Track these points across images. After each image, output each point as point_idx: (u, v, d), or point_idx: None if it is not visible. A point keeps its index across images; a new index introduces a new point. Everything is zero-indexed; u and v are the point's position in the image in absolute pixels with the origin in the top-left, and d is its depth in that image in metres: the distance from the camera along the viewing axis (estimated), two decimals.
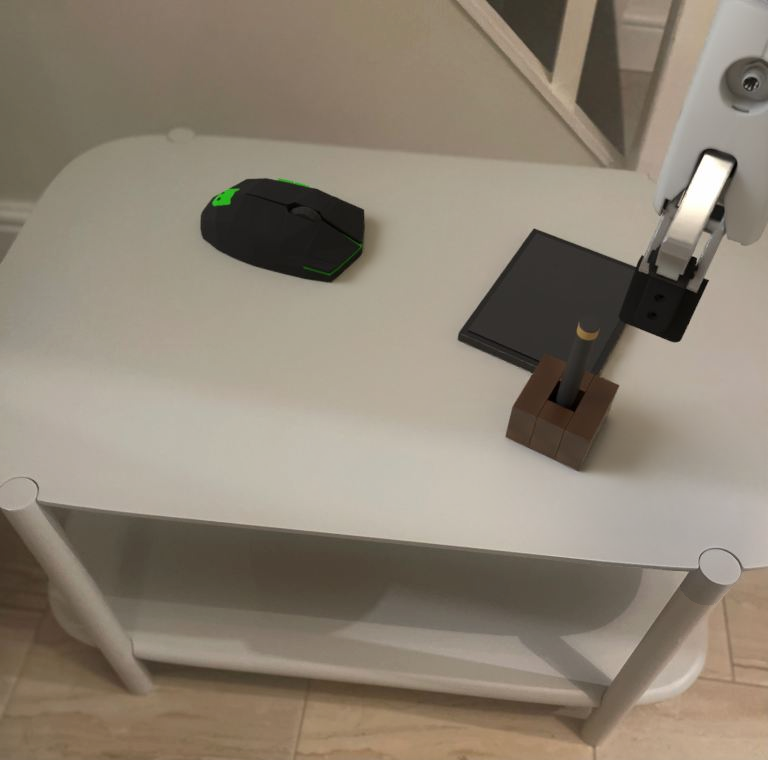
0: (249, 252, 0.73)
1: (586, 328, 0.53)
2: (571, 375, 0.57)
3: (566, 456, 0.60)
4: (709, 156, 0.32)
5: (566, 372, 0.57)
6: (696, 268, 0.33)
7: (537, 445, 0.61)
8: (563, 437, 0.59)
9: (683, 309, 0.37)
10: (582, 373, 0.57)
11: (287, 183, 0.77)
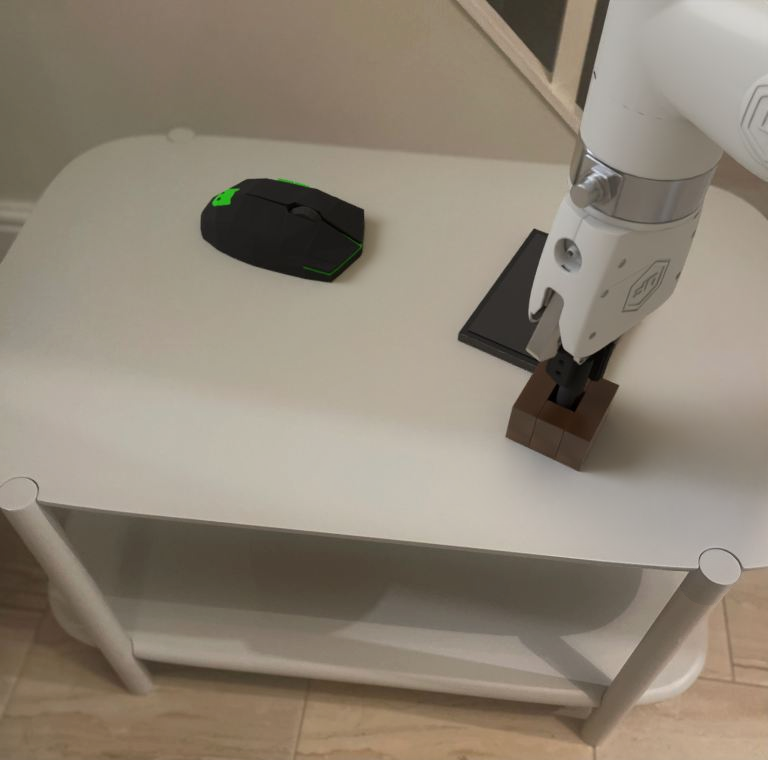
0: (249, 252, 0.73)
1: None
2: None
3: (566, 456, 0.60)
4: (552, 301, 0.48)
5: None
6: None
7: (537, 445, 0.61)
8: (563, 437, 0.59)
9: (578, 374, 0.55)
10: None
11: (287, 183, 0.77)
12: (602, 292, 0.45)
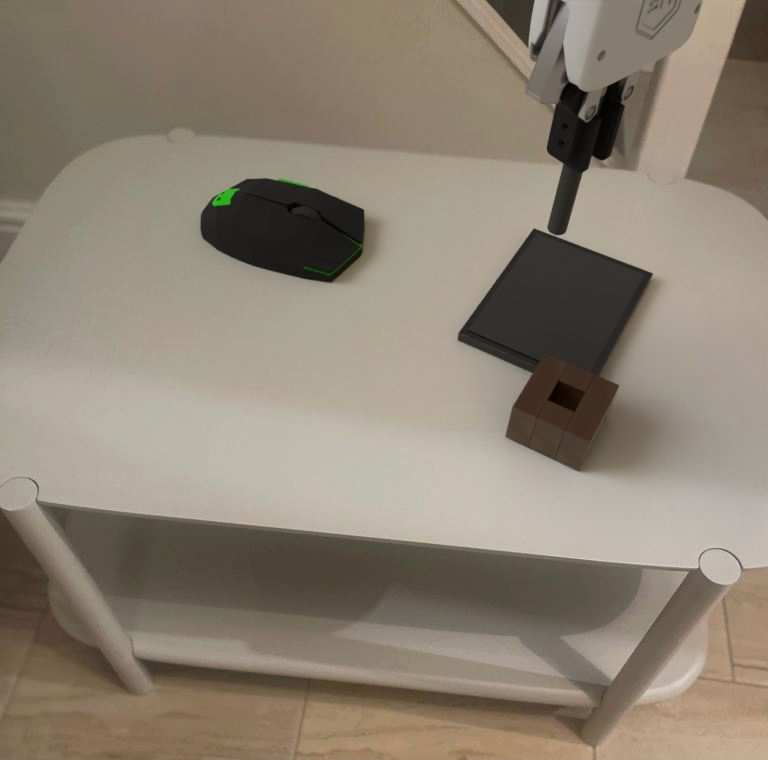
0: (249, 252, 0.73)
1: None
2: None
3: (566, 456, 0.60)
4: (556, 20, 0.42)
5: None
6: (574, 91, 0.45)
7: (537, 445, 0.61)
8: (563, 437, 0.59)
9: (583, 142, 0.49)
10: None
11: (287, 183, 0.77)
12: None
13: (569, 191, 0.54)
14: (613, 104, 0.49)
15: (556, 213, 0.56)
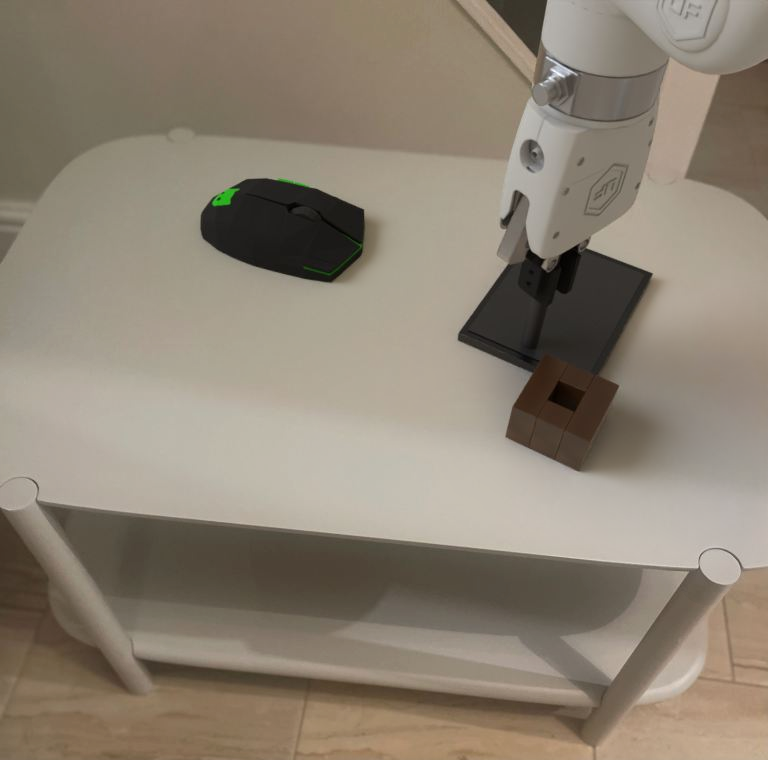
0: (249, 252, 0.73)
1: None
2: None
3: (566, 456, 0.60)
4: (520, 204, 0.52)
5: None
6: None
7: (537, 445, 0.61)
8: (563, 437, 0.59)
9: (547, 284, 0.59)
10: None
11: (287, 183, 0.77)
12: (563, 190, 0.49)
13: (538, 316, 0.64)
14: (571, 253, 0.59)
15: (528, 332, 0.65)
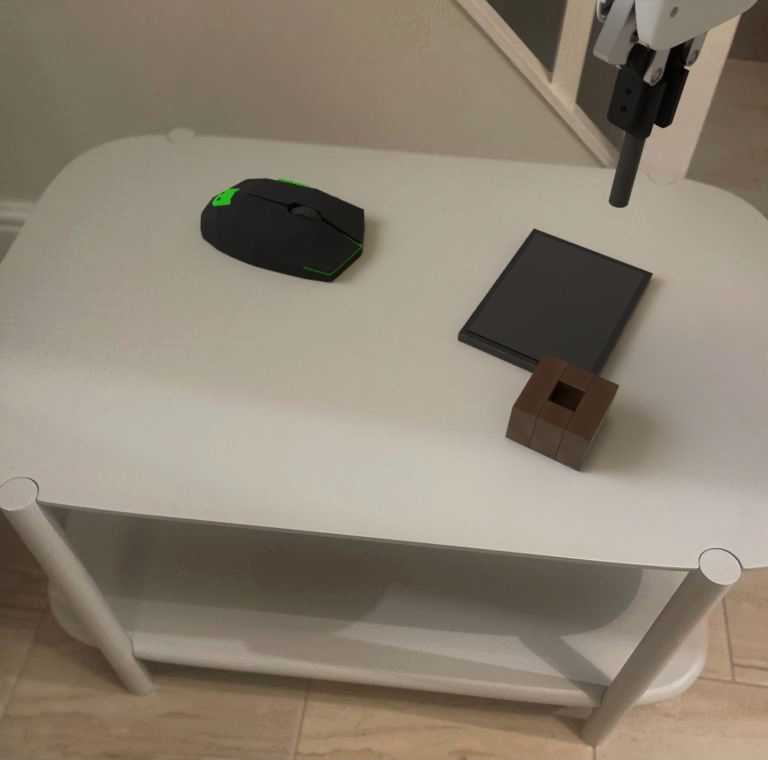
0: (249, 252, 0.73)
1: None
2: None
3: (566, 456, 0.60)
4: None
5: None
6: (642, 53, 0.45)
7: (537, 445, 0.61)
8: (563, 437, 0.59)
9: (647, 107, 0.49)
10: None
11: (287, 183, 0.77)
12: None
13: (631, 160, 0.53)
14: (677, 69, 0.49)
15: (618, 184, 0.55)
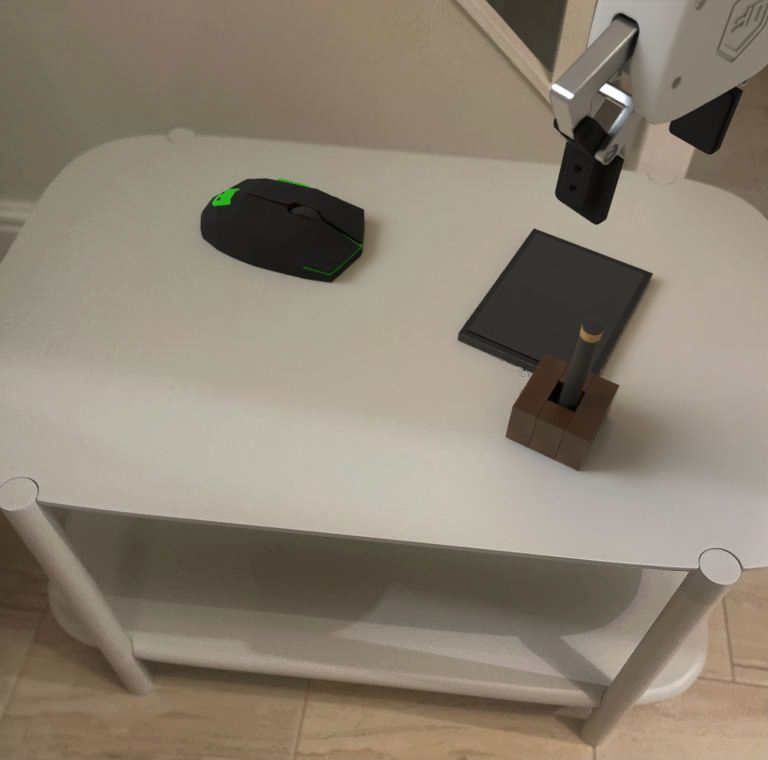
0: (249, 252, 0.73)
1: (589, 330, 0.53)
2: (574, 377, 0.57)
3: (566, 456, 0.60)
4: (618, 21, 0.34)
5: (569, 374, 0.57)
6: (591, 128, 0.36)
7: (537, 445, 0.61)
8: (563, 437, 0.59)
9: (601, 187, 0.40)
10: (585, 375, 0.57)
11: (287, 183, 0.77)
12: (697, 0, 0.32)
13: (569, 405, 0.59)
14: (729, 89, 0.42)
15: None
